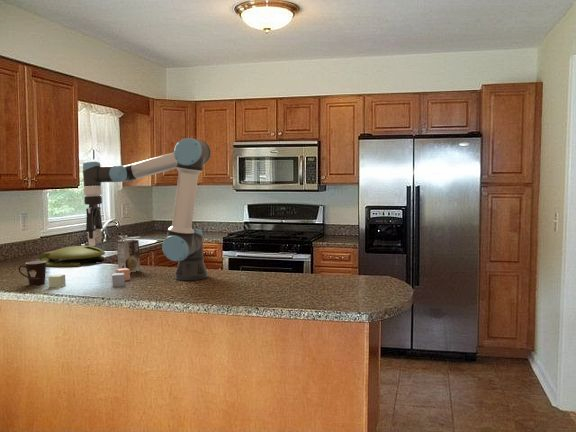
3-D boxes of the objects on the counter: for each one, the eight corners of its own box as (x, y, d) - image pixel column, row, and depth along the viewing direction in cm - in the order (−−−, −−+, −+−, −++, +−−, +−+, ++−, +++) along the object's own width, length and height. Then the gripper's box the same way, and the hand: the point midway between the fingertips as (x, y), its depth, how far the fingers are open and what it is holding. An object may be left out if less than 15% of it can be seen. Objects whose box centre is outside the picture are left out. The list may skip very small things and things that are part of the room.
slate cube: (124, 283, 243) (123, 272, 243) (124, 285, 238) (123, 274, 238) (112, 284, 241) (112, 273, 241) (112, 286, 237) (112, 275, 236)
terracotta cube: (126, 278, 256) (126, 267, 256) (130, 279, 252) (129, 269, 252) (116, 279, 253) (115, 269, 253) (119, 281, 249) (118, 270, 249)
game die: (97, 253, 246) (96, 237, 239) (81, 246, 247) (79, 230, 241) (109, 241, 252) (108, 225, 246) (93, 235, 254) (92, 219, 247)
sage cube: (65, 285, 241) (65, 274, 241) (59, 287, 236) (59, 276, 236) (55, 285, 242) (54, 274, 242) (49, 287, 237) (48, 276, 237)
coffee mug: (51, 282, 248) (50, 261, 247) (35, 286, 240) (34, 264, 239) (33, 281, 253) (32, 260, 252) (17, 284, 245) (16, 263, 244)
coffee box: (132, 270, 279) (131, 239, 278) (140, 271, 275) (139, 239, 274) (117, 272, 272) (116, 241, 271) (125, 273, 268) (124, 241, 267)
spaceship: (29, 267, 297) (28, 250, 296) (61, 259, 327) (60, 243, 327) (87, 268, 291) (86, 250, 291) (115, 259, 322) (114, 243, 321)
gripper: (91, 195, 256) (94, 241, 258) (76, 196, 234) (79, 247, 236) (107, 194, 256) (109, 241, 258) (94, 196, 235) (96, 247, 236)
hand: (95, 244), depth 247 cm, fingers closed on game die, 9 cm apart
